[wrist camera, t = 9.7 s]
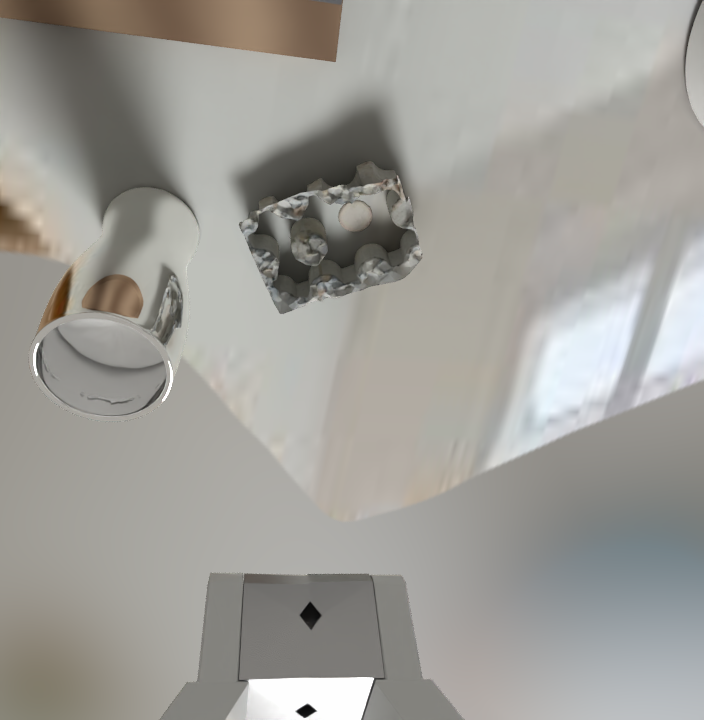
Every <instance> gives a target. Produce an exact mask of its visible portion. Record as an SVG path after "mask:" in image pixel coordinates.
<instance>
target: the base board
mask: <svg viewBox="0 0 704 720" xmlns="http://www.w3.org/2000/svg"><path fill="white" fill-rule="evenodd" d="M342 3H343V0H342ZM341 12H342V5H339V4H332V3H325V2H319V1H312V0H0V17H2V18H9V19H17V20H24V21H32V22H39V23H47V24H54V25H62V26H69V27H77V28H84V29H92V30H99V31H107V32H114V33H122V34H129V35H137V36H144V37H152V38H159V39H167V40H175V41H182V42H190V43H197V44H205V45H212V46H220V47H227V48H235V49H242V50H250V51H257V52H265V53H272V54H280V55H287V56H295V57H302V58H310V59H317V60H325V61H332V62H336V54H337V46H338V37H339V29H340V20H341Z"/></svg>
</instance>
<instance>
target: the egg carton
mask: <svg viewBox="0 0 704 720" xmlns="http://www.w3.org/2000/svg"><path fill="white" fill-rule="evenodd" d="M388 189H389V190H390V191H389V192H388V195H387V198H386V201H387V207H388V210H389V213H390V216H391V219H392V221H393V222H394V223H395V224H396V225H397V226H399V227H401V228H404V229H409V230H408V231H406V232H405V233H404V235H403V236H402V238H401V242H400V244H401V248H400V249H398V250H395V251H392V252H388V253H387V252H386V250H385V249H384V248H383V247H382V246H380V245H378V244H366V245H363V246H362V247H361V248H359V249H358V251H357V252H356V255H355V261H354V264H353V265H351V266H348V267H345V268H340V267H339V265H338V264H337V263H335V262H334V261H331V260H327V259H326V260H322V259H323V258H324V257H325V255H326V254H327V252H328V247H327V239H326V232H325V228H324V226H323V225H322V223H321V222H320V221H318V220H317V219H314V218H307V217H306V218H302V217H303V214H304V212H305V210H306V208H307V206H308V204H309V199H308V198H309V196H313V195H315V196H318V197H319V198H320V199H321V200H323V201H324V202H326V203H328V204H330V205H331V204H332V203H334V202H335V203H338V204H344V203H346V204H345V205H343V207H342V208H341V210H340V212H339V216H338V218H339V222H340V224H341V226H342V227H343V228H345V229H346V230H348V231H351V232H356V231H363V230H364V229H366V228H367V227H368V226H369V224H370V223H371V220H372V210H371V208H370V207H369V206H368V205H367V204H366V203H364V202H362V201H358V200H356V199H357V198H359V196H360V195H371V194H376V193H379V192H382V191H384V190H388ZM347 202H348V203H347ZM268 210H271V212H272V213H274V214H277V215H278V216H279V217H281V218H287V219H294V220H296V221H297V222H295V224H294V225H293V226H292V229H291V238H290V239H291V249H292V253H293V255H294V257H295V259H297V260H299V261H300V262H302V263H303V264H305V265H311V268H310V270H309V280H307V281H304V282H302V283H298V284H296V283H295V282H294V281H293V280H292V279H291V278H290V277H288V276H284V275H278V268H279V246H278V243H277V242H276V241H275V239H274V238H272V237H271V236H269V235H265V234H258V235H255V234H254V233H253V232H255V231H256V229H257V227H258V224H259V214H260V213H262V212H264V211H268ZM239 226H240V229H241V231H242V233H243V234H244V236H245V239H246V241H247V243H248V246H249V249H250V251H251V254H252V256H253V258H254V260H255V262H256V265H257V267H258V269H259V272H260V274H261V276H262V278H263V281H264V283H265V285H266V288H267V289H268V291H269V293H270V295H271V298H272V300H273V302H274V304H275V306H276V308H277V309H278V311H279V313H280V314H284V313H286V312H289V311H292V310H294V309H297V308H300V307H303V306H305V305H307V304H308V303H310V302H314V301H323V300H324V299H325V298H334V299H337V298H339V297H341V296H344V295H346V294H349V293H351V292H356V291H360V290H363V289H365V288H368V287H370V286H375V285H380V284H386V283H391V282H396V281H398V280H401V279H403V278H405V277H406V276H407V275H408V274H409V273H410V272H411V271H412V270H413V269H414V267H415V266H416V265H417V264H418V263H419V261H420V260H421V259H422V251H421V249H420V246H419V240H418V235H417V232H416V229H415V228H414V225H413V212H412V207H411V202H410V198H409V196H408V197H407V198H405V195H404V193H403V189H402V185H401V182H400V179H399V176H398V175H396V173H395V170H383V169H380V168H378V167H377V166H376V165H375V164H374V163H373V162H372V161H367V162H364V163H362V164H359V165H357V166H356V174H355V178H354V179H353V181H352V182H351V183H349V184H348V185H338V186H336V187H332V186H330V185H328V184H326V183H325V182H324V181H323V179H322V178H320V179H318V180H316V181H314V182H313V183H311V184H309V185H307V192H303V193H299V194H297V195H294V196H292V197H289V198H287V199H284V200H282V201H280V202H278V201H277V200H276V199H275V197H274V196H270V197H266V198H263V199H262V200H260V201H259V210H258V211H252V212H250V214H249V218H248V219H246V220H245V221H243V222H240V223H239Z"/></svg>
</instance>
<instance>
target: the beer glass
mask: <svg viewBox="0 0 704 720" xmlns="http://www.w3.org/2000/svg"><path fill="white" fill-rule="evenodd" d="M199 238H200V235H199V227H198V224H197V221H196V218H195V216H194V215H193V213H192V211H191V210H190V209H189V207H188V206H187V205H186V204H185V203H184V202H183V201H182V200H180V199H179V198H178V197H176V196H175V195H173V194H171V193H169V192H167V191H164V190H161V189H157V188H152V187H139V188H133V189H130V190H127V191H125V192H123V193H121V194H120V195H118V196H117V197H115V198H114V199H113V200H112V201H111V203H110V204H109V206H108V207H107V209H106V212H105V214H104V218H103V223H102V235H101V237H100V238H99V239H98V240H97V241H96V242H94V243H93V244H92V245H91V246H90V247H89V248H88V249H87V250H86V251H85V252H84V253H83V254H81V255H80V256H79V257H78V258H77V259H76V261H75V262H74V263H73V264H72V265H71V266H70V267H69V269H68V270H67V271H66V272H65V274H64V275H63V276H62V278H61V280H60V281H59V283H58V284H57V286H56V288H55V289H54V291H53V293H52V295H51V297H50V299H49V302H48V304H47V306H46V308H45V311H44V313H43V316H42V318H41V321H40V324H39V327H38V330H37V333H36V335H35V338H34V339H33V341H32V343H31V346H30V349H29V357H28V362H29V368H30V372H31V375H32V377H33V379H34V381H35V383H36V384H37V386H38V387H39V389H40V390H41V391H42V392H43V393H44V395H45V396H46V397H48V398H49V399H50V400H51V401H52V402H54V403H55V404H56V405H58V406H59V407H61V408H63V409H64V410H66V411H68V412H70V413H72V414H75V415H77V416H80V417H83V418H87V419H91V420H95V421H104V422H121V421H128V420H132V419H136V418H139V417H142V416H144V415H147V414H149V413H150V412H152V411H154V410H155V409H156V408H158V407H159V406H160V405H161V404H162V403H163V402H164V400H165V399H166V398H167V396H168V395H169V393H170V391H171V388H172V385H173V379H174V376H175V374H176V371H177V368H178V366H179V363H180V360H181V357H182V354H183V350H184V346H185V342H186V338H187V333H188V326H189V320H190V297H189V288H188V279H187V266H188V264H189V263H190V261H191V260H192V258H193V257H194V255H195V253H196V251H197V248H198V245H199Z"/></svg>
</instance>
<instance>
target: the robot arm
mask: <svg viewBox="0 0 704 720" xmlns="http://www.w3.org/2000/svg"><path fill="white" fill-rule="evenodd" d="M685 74H686V87H687V93H688V97H689V100H690V104H691V106H692V109H693V111H694V113H695V115H696V117H697V118H698V120H699V122H700V123H701V124H702V126H703V127H704V0H703V1H702V4H701V6H700V8H699V10H698V13H697V16H696V18H695V21H694V24H693V27H692V31H691V34H690V38H689V43H688V48H687V55H686V67H685ZM160 720H464V718H463V717H462V716H461V715H460V714H459V712H458V711H457V710H456V709H455V707H454V706H453V705H452V703H451V702H450V701H449V700H448V698H447V697H446V696H445V695H444V693H443V692H442V691H441V690H440V688H439V687H438V686H437V685H436V683H435V682H434V681H433V680H432V679H423V678H422V672H421V667H420V661H419V656H418V650H417V644H416V638H415V633H414V627H413V621H412V615H411V610H410V604H409V598H408V593H407V587H406V582H405V580H404V579H403V577H402V576H401V575H369V574H308V575H289V574H244V584H243V573H210V577H209V581H208V587H207V595H206V604H205V615H204V624H203V633H202V642H201V651H200V661H199V670H198V680H197V682H187V683H186V684H185V686H184V687H183V688H182V690H181V691H180V693H179V694H178V695H177V697H176V698H175V699H174V701H173V702H172V703H171V705H170V706H169V707H168V709H167V710H166V712H165V713H164V714H163V716H162V717H161V718H160Z"/></svg>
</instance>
